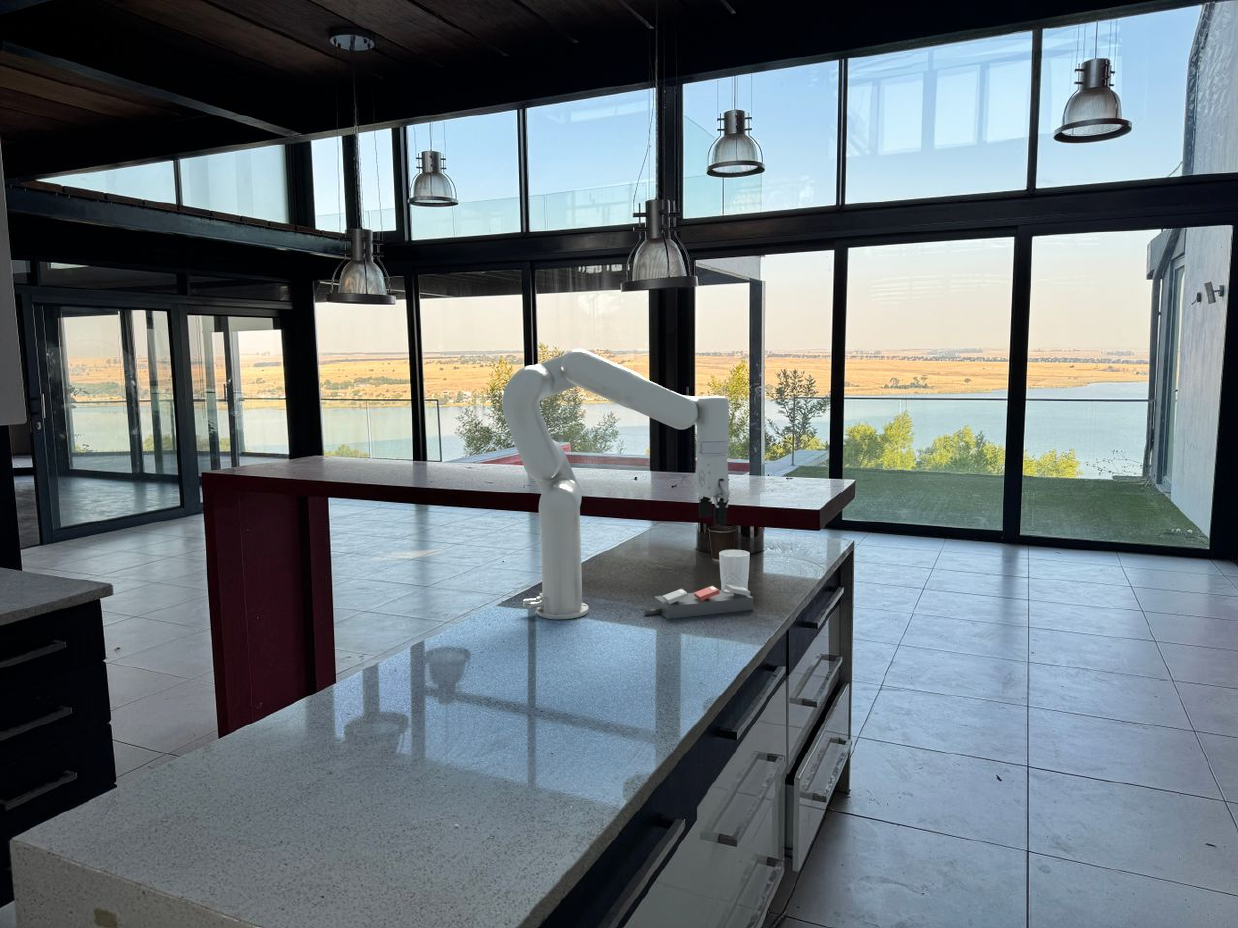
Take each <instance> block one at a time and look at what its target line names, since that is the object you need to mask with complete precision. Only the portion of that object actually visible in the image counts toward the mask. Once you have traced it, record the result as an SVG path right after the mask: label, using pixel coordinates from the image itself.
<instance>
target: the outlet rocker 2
mask: <svg viewBox="0 0 1238 928" xmlns="http://www.w3.org/2000/svg"><path fill="white" fill-rule="evenodd" d="M719 590H720V589H719V588H717V587H715V586H714V585H710V586H707V587H704V588H703V589H700V590H697V591H694V592H693V593H694V595H695V597H696V598H698V599H699V600H701V601H702V600H705V599H707V598H710V597H712V596H715V595H717V594H720V592H719Z"/></svg>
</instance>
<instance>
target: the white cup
mask: <svg viewBox="0 0 1238 928" xmlns="http://www.w3.org/2000/svg"><path fill="white" fill-rule="evenodd" d="M750 554H751V553H750V551H747V550H742V549H724V550H721V551H719V552H718V556H719V575H720V583H721V584H720V585H721V587H720V588H721V589H720V590H725V584H726V585H732V586H737V587H743V588H745V589H747V590H748V589H749V588H748V587H749V583H748V582H749V576H750V575H749V574H750V573H749V572H750ZM748 591H749V590H748Z"/></svg>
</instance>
